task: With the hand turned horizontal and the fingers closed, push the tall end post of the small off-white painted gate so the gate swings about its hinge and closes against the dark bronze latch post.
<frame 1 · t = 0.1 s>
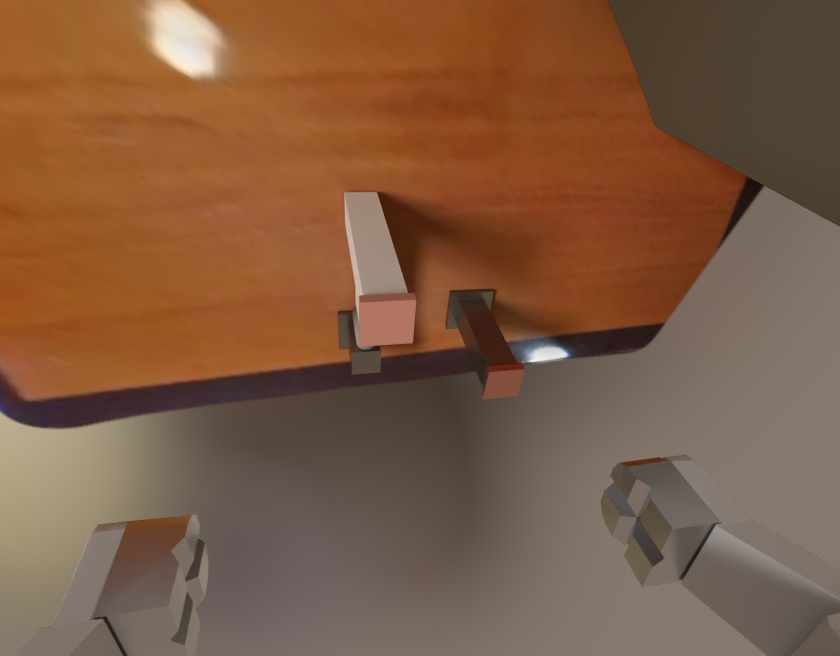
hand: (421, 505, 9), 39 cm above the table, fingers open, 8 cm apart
hinge post: (360, 327, 55), on the table
latch post: (468, 307, 57), on the table
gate: (371, 311, 42), point 10 cm above the table, hinge at 0.0°
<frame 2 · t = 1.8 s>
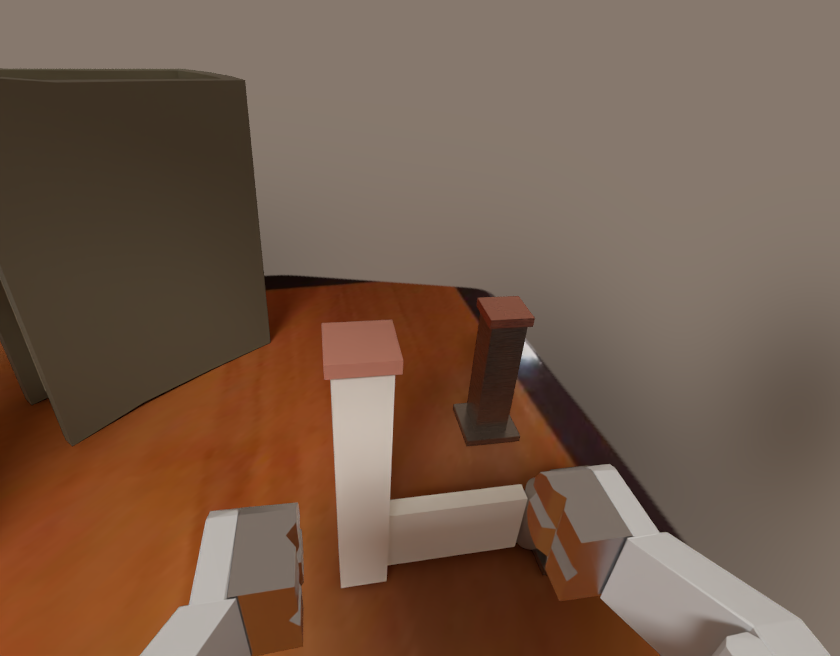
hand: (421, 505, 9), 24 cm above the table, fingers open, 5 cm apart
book: (167, 366, 51), on the table
latch post: (484, 424, 46), on the table
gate: (454, 461, 29), point 10 cm above the table, hinge at 0.0°
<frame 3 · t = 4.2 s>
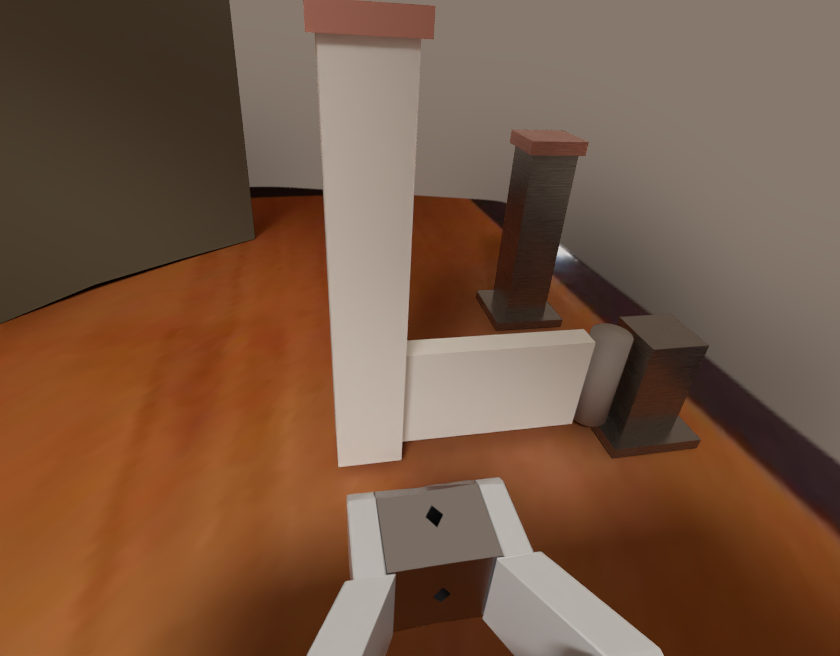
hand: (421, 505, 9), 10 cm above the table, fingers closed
hinge post: (628, 420, 28), on the table
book: (129, 257, 42), on the table
latch post: (516, 311, 37), on the table
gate: (498, 271, 21), point 10 cm above the table, hinge at 0.0°
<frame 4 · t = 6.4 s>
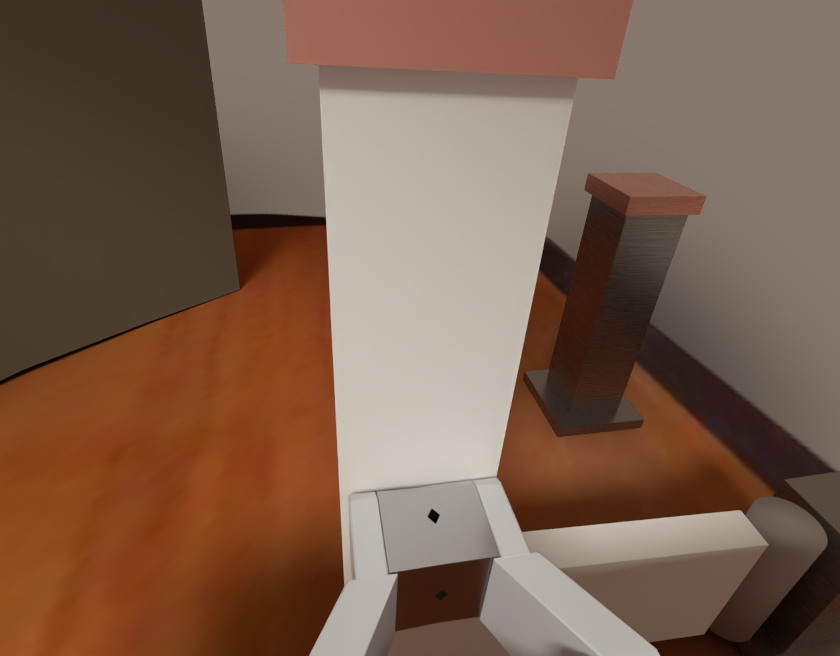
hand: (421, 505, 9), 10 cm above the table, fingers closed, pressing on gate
hinge post: (777, 611, 19), on the table
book: (79, 320, 33), on the table
latch post: (578, 401, 29), on the table
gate: (631, 454, 12), point 10 cm above the table, hinge at 3.0°, touching gripper
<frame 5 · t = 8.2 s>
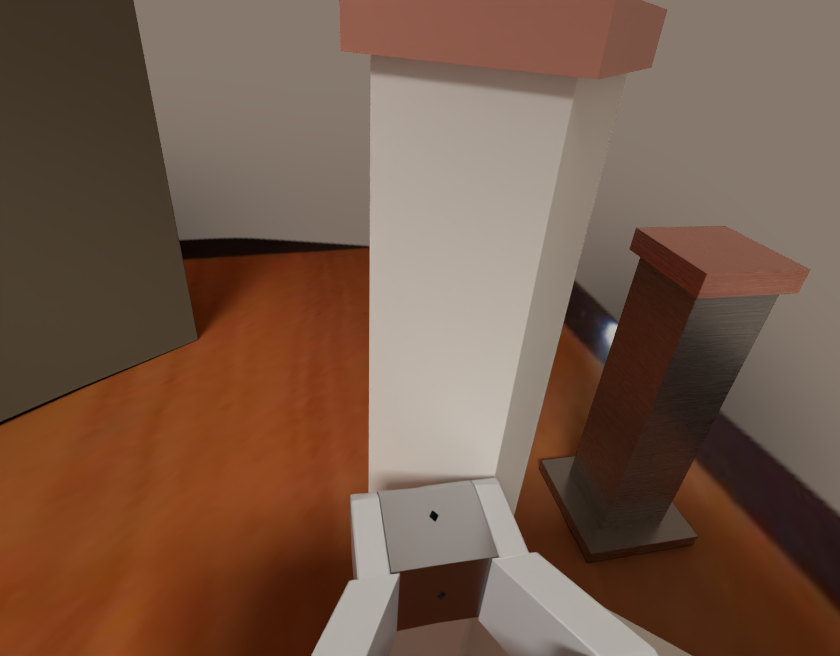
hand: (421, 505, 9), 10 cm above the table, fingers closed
latch post: (610, 504, 23), on the table
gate: (705, 567, 10), point 10 cm above the table, hinge at 42.6°, touching gripper
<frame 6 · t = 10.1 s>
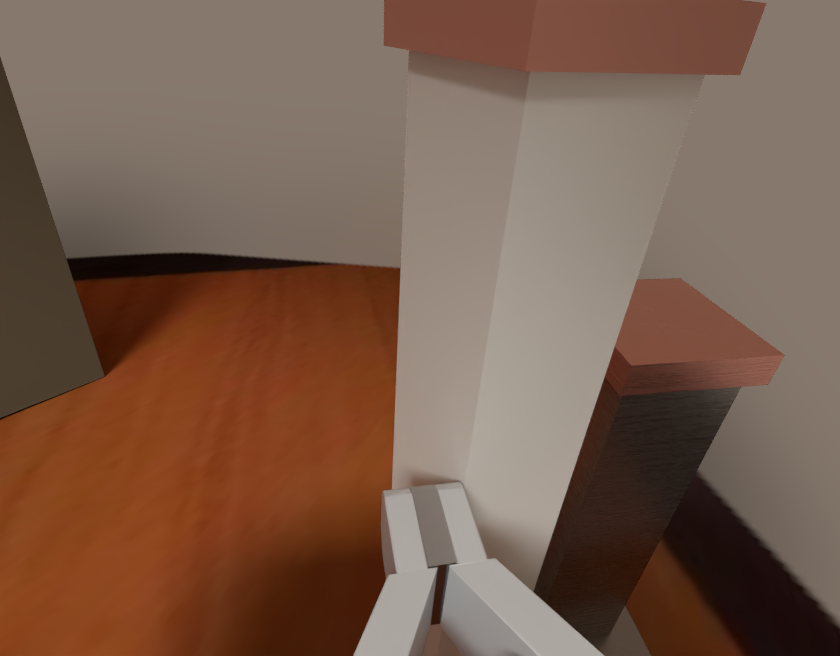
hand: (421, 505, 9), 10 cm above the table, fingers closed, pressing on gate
latch post: (550, 604, 18), on the table
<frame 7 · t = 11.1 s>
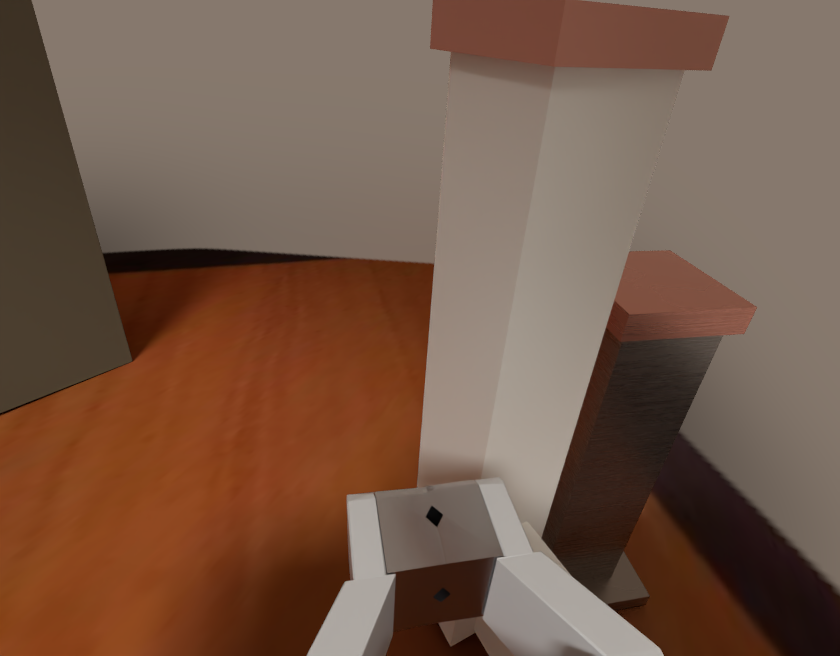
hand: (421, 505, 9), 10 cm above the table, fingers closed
latch post: (557, 554, 20), on the table
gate: (670, 579, 9), point 10 cm above the table, hinge at 72.7°, touching latch post
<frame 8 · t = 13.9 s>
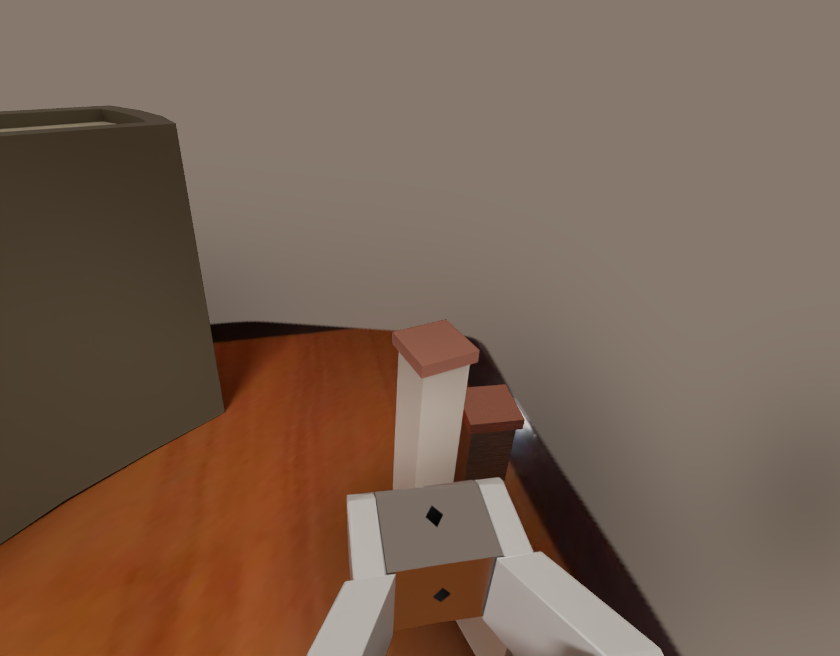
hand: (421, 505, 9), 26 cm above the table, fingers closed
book: (101, 447, 44), on the table
latch post: (467, 524, 39), on the table
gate: (471, 521, 28), point 10 cm above the table, hinge at 72.7°, touching latch post
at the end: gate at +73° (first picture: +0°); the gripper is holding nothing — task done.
